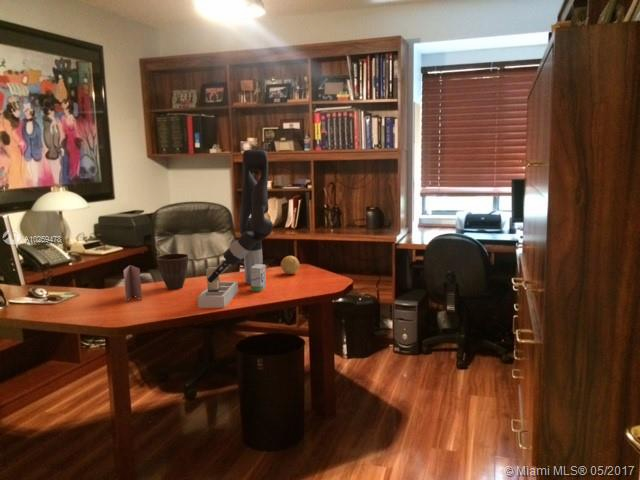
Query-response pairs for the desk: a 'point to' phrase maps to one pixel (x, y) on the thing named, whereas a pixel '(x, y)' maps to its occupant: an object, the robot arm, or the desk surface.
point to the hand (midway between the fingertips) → (210, 279)
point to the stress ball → (290, 264)
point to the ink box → (258, 277)
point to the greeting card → (132, 282)
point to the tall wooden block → (216, 283)
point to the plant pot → (173, 270)
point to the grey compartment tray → (218, 296)
